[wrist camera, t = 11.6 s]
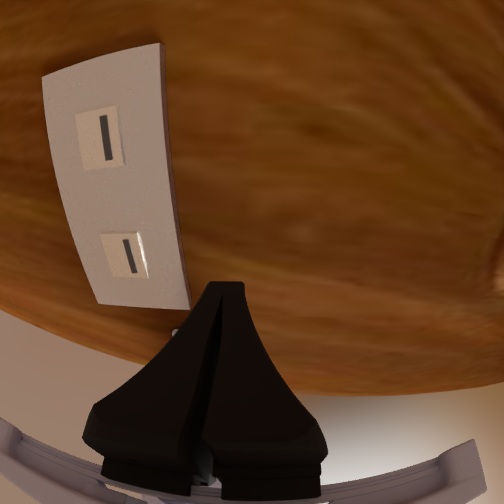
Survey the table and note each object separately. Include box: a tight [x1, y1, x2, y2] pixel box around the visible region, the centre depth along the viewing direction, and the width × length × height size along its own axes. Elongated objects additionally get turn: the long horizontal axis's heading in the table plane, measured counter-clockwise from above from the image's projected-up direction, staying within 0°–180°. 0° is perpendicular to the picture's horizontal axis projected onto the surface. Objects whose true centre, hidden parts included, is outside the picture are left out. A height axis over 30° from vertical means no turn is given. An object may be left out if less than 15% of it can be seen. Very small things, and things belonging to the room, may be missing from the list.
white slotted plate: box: [42, 43, 192, 310], centre depth 18 cm, size 20×9×1 cm, turn 0°
